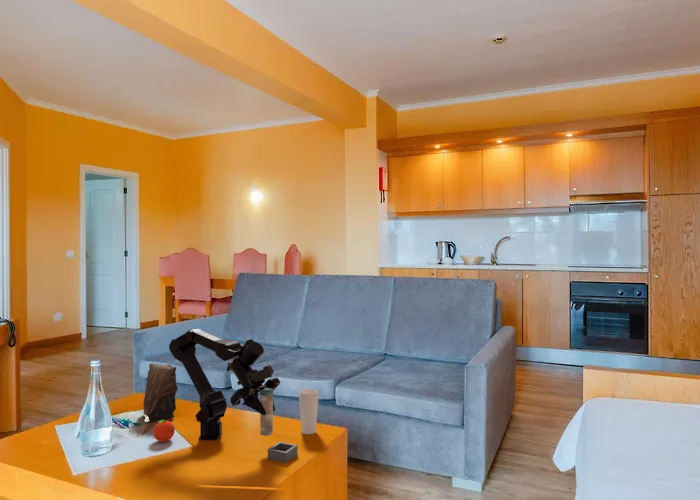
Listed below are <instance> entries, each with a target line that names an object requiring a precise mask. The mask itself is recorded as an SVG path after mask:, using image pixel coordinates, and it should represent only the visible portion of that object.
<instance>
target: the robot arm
mask: <svg viewBox="0 0 700 500" xmlns="http://www.w3.org/2000/svg"><path fill="white" fill-rule="evenodd" d="M197 345H200V346H202V347H204V348H207V349H209V350H210V351H212V352H214V354H215V356H216V357H217V358H219V359H220V360H221V361H223V362H224V361H225V362H226V361H231V360H232V361H231V362H227V367H226V372H231V371H232V372H233V374H234V375H235V376H236V379H237V382H236V384H237V386H240V385H241V386H242V387H241V388H238V389H237V390H236V391H235V392H234V393H233V394H232V395H231V397H230V401H229V402H230V403H231V405H232V407H236V406H238V405H240V404H241V400H242V399H243V402H242V404H241V405H242V406H246V407H248V408H250V409H252V410H254V411H256V412H257V413H259V414H260V413H261V414H262V415H265V414H266V411H265V409H264V407H263V406H262V404H261V396H260V397H259V394H260V390H262V389H273V392H274V391H275V390H276V389H277V388H278V386H280V384H281V383H282V382H281V381H280V379H279V378H278V377H276V376H275V377H273V374H275V373H274V369H273V367H272V366H271V365H270V364H269V365H266V366H263V368H262V369H260V370H258V369H253V368H252V366H253V365H255V363H256V362H257V361H258V360H259V359H260V357H262V355H264V352H265V349H264V347H263V345H262V344H260V343H259V342H257V341H254V340H253V339H252V338H251V339H247V340H246V341H245V343H244V344H241V343H240V342H239V341H237V340H233V339H222V338H219V337H217V336H215V335H212V334H210V333H208V332H206V331H203V330H202V329H200V328H192V329H189V330H188V331H186V332H185V333H183V334H181V335H180V336H178V337H176V338H174V339H172V340H170V343H169V345H168V350H169V352H170V354H171V355H172V356H173V358H174V359H175V360H177V361H179V362H180V363H181V364H182V365H183V366H184V367H183V368H184V370H185V371H186V373H187V375H188V377H189V378H190V381H191V382H192V384H193V386H194V388H195V390H196V392H197V394H198V396H199V408H200V409H199V410H198V412H197V413H196V414H195V420H196V422H199V423H200V426H199V427H200V428H199V429H200V431H199V432H200V433H199V435H200V436H198V440H207V441H209V440H212V441H213V440H215V441H216V440H218V438H220V437H221V435H222V434H223V422H222V421H221V418H224V417H225V414H226V411H227V407H228V403H227V398H226V397H225V396H224V394H223V392H222V390H215V389H214V388H213V386H212V385H211V382H210V381H209V379H208V377H207V376H206V374H205V372H204V369H203V368H202V366H201V364H200V362H199V361H198V358H197V357H196V351H197V347H196V346H197ZM266 379H267V381H266ZM274 401H275V400H273V412H275V410H276V406H275V402H274Z"/></svg>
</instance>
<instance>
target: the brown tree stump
mask: <svg viewBox="0 0 700 500" xmlns="http://www.w3.org/2000/svg"><path fill="white" fill-rule="evenodd" d="M148 367H149V370H148V371H147V376H146V385H145V390H144V398H143V415H144V414H145V415H147V416H148V417H149V420H150V421H153V422H157V421H156V420H158V421H161V420H162V419H164V420H168V419H172V418H175V416H176V415H174V413H175V411H176V410H177V404H176V395H177V391H178V385H177V375H176V370H177V367H176V366H173V365H171V364H169V363H167V364H158V363H149V366H148Z"/></svg>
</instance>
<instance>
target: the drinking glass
mask: <svg viewBox="0 0 700 500" xmlns="http://www.w3.org/2000/svg"><path fill="white" fill-rule="evenodd" d="M298 397H299V399H298V400H299V401H298V402H299V413H300V414H299V417H300V426H301V427H300V430H301V434H303V435H315V434H316V432H317V421H318V419H317V418H318V411H319V392H318V390H317V389H314V388H304V389H301V390H299V396H298Z"/></svg>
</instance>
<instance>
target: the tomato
mask: <svg viewBox="0 0 700 500" xmlns="http://www.w3.org/2000/svg"><path fill="white" fill-rule="evenodd" d="M153 427H154V428H153V437H154V439H155V440H157V441H158V442H160V443H164V442H168V441H170V440H171V439H172V438H173V436H174V434H175V430H176V428H175V426H174V424H173V423H172V422H171V421H170V420H158V421H155V423H154V425H153Z"/></svg>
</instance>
